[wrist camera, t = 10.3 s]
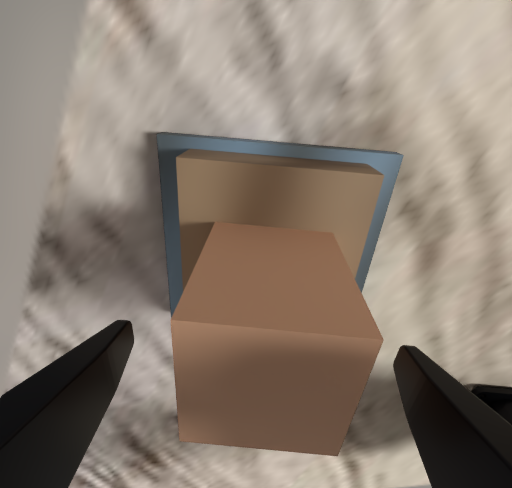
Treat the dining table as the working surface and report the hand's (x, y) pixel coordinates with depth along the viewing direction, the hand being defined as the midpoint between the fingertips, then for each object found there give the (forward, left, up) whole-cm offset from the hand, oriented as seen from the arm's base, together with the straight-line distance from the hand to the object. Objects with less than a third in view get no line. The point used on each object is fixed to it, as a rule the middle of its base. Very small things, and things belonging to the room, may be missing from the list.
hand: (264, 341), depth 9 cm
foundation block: (0, 0, -7) cm, 7 cm away
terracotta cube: (0, 0, -4) cm, 4 cm away
